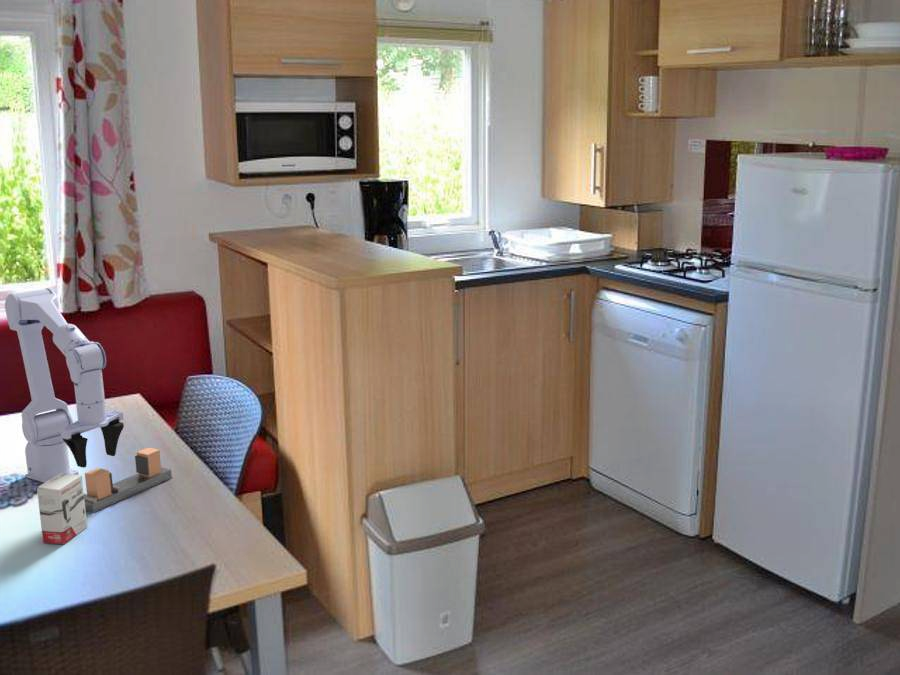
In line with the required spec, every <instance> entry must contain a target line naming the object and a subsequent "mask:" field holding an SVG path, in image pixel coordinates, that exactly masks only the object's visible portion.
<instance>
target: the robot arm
mask: <svg viewBox="0 0 900 675" xmlns="http://www.w3.org/2000/svg"><path fill="white" fill-rule="evenodd" d="M4 302H5V303H4V309H5V314H6V319H7V323H8V326H9V329H10V330H11V331H15V332H17V333H16V334H17V337H18V340H19V342H18V343H19V346H20V351H21V356H22V360H23V366H24V369H25V375H26V379H27V383H28V389H29V392H30V398H31V401H30V402H29V403H28V405H27V406H26V407H25V408H24V409H23V410H22V411H21V419H22V423H21V428H22V434H23V436H24V438H25V440H26V441H27V443H26V445H25V450H24V454H25V459H26V460H25V462H26V468H27V469H26V470H27V471H26V472H27V473H25V474H24V477H25V478H28V479H31V480H34V481H38V482H41V483H45V482H46V481H48V480H49V479H51V478H53V477H54V476H56V475H58V474H59V473H68V474H78V475H79V471H78V470H76V469H71V468H70V458H69V450H70V452H71V454H72V455H73V459H74V460H75V462H76V465H77V467H79V468H82V469H83V468H87V463H88V462H87V452H86V451H87V444H88V441H89V440H88V438H87V437H83V435H82V434H84V433H87V432H90V431H91V430H94V429H97V428H100V429H101V432H102V436H103V441H104V448H105V452H106V453H105V454H106V455H108V456H111V457H115V456H116V453H117V447H118V443H119V438H120V436H121V434H122V432H123V429H124V428H125V427H124V426H125V425H124V422H121V421H123V420H124V412H123V411H122V410H113V411H108V412H107V409H106V399H105V390H104V389H105V388H104V380H103V371H102V370H104V369H105V368H106V366H107V357H106V352H105V350H104V348H103V346H102V345H101V343H99V342H98V341H93V340H92V341H90V340H89V339H88V338H87V336H85V335H84V334H83V332H82V331H81V330H80V329H79V328H78V327H77V326H76V325H75V324H72V323H68V322H67V320H66V319H65V318H64V316H63V315H62V313H61V312H60V310H59V307H60V305H59V299H58V295H57V294H56V292H55V291H54V290H53V289H52V288H51V287H47V288H43V289H38V290H31V291H24V292H16V293H8V295H7V296H6V297H5V300H4ZM44 327H45V328H46V329H47V330H49V331H50V332H51V334H52V341H53V344H54V345H55V346H56V347H57V349H59V350H60V352H61V354H63V355H64V357H65V361H66V366H67V368H68V372H69V375H70V380H71V382H73V386H74V387H73V388H74V394H75V395H74V396H75V405H76V415H77V421H74V420H73V416H72V414H71V412H70V410H69V406H68V403H66V402H65V401H63V400H61V399H59V398H56V397H55V391H54V387H53V383H52V378H51V372H50V367H49V362H48V360H47V354H46V349H45V344H44V339H43V335H42V330H43V329H44ZM40 413H41V414H40ZM68 448H69V449H68Z"/></svg>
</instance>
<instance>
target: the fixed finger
mask: <svg viewBox="0 0 900 675" xmlns="http://www.w3.org/2000/svg"><path fill="white" fill-rule="evenodd" d="M160 453H161V452H160V449H158V448H152V447H146V448H144V449H141V450H139V451H137V452H136V455H135V456H134V459H135V471H136V474H138V473H139V475H142V476H146V477H149V478H150V477H152V476H154V475H157V474H159V473H161V466H162V464H161V454H160Z"/></svg>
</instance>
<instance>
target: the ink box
mask: <svg viewBox="0 0 900 675" xmlns="http://www.w3.org/2000/svg"><path fill="white" fill-rule="evenodd" d="M37 487H38V488H36V492H37V493H36V494H37V503H38V510H39V518H40V519H39V520H40V526H41V534H42V543H43V544H45V543H46V544H54V545H65V544H66V543H68V542H69V541H71V540H72V539H73V538H75V537H76V536H77V535H79V534H80V533H81V532H83V531H84V530H85V529H86V528H88V521H87V510H85V501H84V494H85V492H84V484H83V474H79V473H78V474H68V473H59V474H58V475H56V476H54V477H53V478H51V479H49V480H48V481H46V482H45V483H44V482H42V484H40V485H38V486H37Z"/></svg>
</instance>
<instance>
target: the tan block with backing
mask: <svg viewBox="0 0 900 675" xmlns="http://www.w3.org/2000/svg"><path fill="white" fill-rule="evenodd" d="M84 479H85V480H84V481H85V489H86V490H85V491H86V494H87V495H90V496H94V497H97V500H99V499H102V498H104V497H106V496H109V495H111V491H112V490H113V484H114V483H113V474H112V472H110V471H109V470H108V469H104V468H100V467H97V468H93V469H92V470H88V471H86V472H85V473H84Z"/></svg>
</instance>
